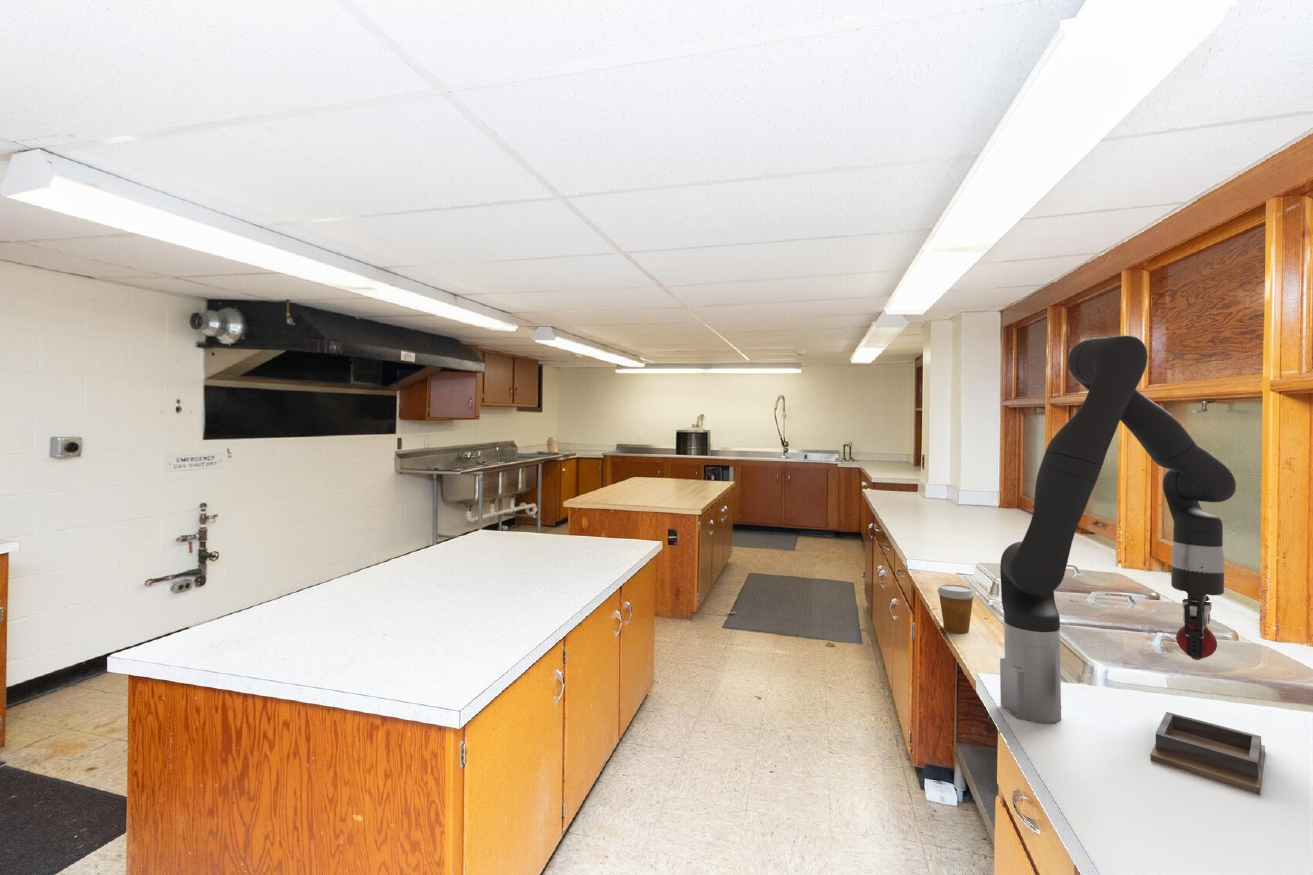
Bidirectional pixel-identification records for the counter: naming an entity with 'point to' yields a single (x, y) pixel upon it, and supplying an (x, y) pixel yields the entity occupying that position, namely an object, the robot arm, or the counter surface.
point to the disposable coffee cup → (956, 607)
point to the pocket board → (1210, 751)
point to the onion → (1208, 641)
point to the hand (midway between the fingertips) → (1196, 652)
